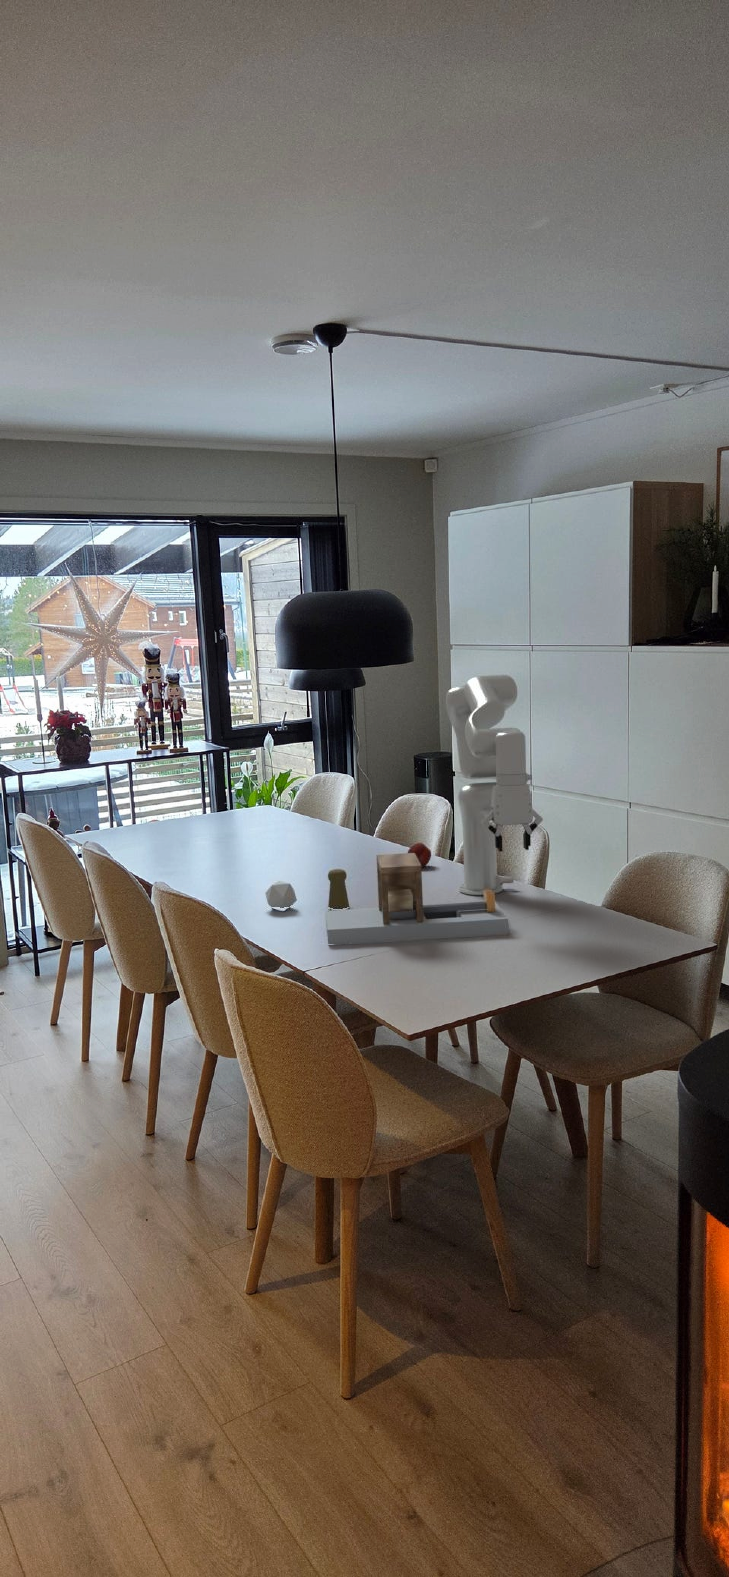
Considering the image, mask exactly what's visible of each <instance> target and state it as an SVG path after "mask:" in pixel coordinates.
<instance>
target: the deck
mask: <svg viewBox="0 0 729 1577" xmlns="http://www.w3.org/2000/svg"><path fill="white" fill-rule="evenodd" d="M469 902H470V901H465V902H463V901H462V903H469ZM478 902H484V900H483V901H478ZM453 903H454V902H450V903H449V902H448V903H447V902H446V903H445V904H453ZM436 904H437V903H435V904H434V903H431V904H429V905H436ZM325 925H326V927H327V928H326V936H327V937H328V938H327V944H345V945H356V943H361V944H372V943H373V944H375V943H391V942H393V943H394V942H407V941H421V940H423V941H425V940H439V939H456V938H471V937H487V936H488V937H490V936H501V935H504V936H505V935H509V918H508V917H507V915H506V914H505V912H503V910H502V909H501V907H500V906H499V904H497V902H496V901H495V911H491V912H487V910H486V909H482V910H465V911H449V912H433V913H423V922H420V923H417V918H412V919H396V920H389V924H387V925H383V914H382V910H381V911H379V907H369V908H368V907H366V908H349V909H347V910H325ZM350 943H351V944H350Z"/></svg>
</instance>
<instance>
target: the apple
mask: <svg viewBox="0 0 729 1577" xmlns="http://www.w3.org/2000/svg"><path fill="white" fill-rule="evenodd" d="M407 853H415V855H416V856H417V858H418V860H419V862H420V864H421V868H424V867H426V866H427V865H428V864H429V862H430V861H431V858H432V852H431V849H430V848H428V846H426V845H425V843H423V842H417V843H414V844H413V845H412V846H411V847H409V849H408V851H407Z"/></svg>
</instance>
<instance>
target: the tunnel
mask: <svg viewBox="0 0 729 1577" xmlns="http://www.w3.org/2000/svg"><path fill="white" fill-rule="evenodd" d="M376 874H377V876H376V877H377V896H378V908H379V911H381V910H382V911H383V925H387V924H389V901H388V890H404V889H410V890H411V892H412V895H413V901H416V913H417V923H420V922H423V905H424V900H423V899H424V897H423V878H422V877H423V873H422V867H421V864H420V862H419V860H418V858H417V856H416V855H415V853H408V852H406V853H391V854H390V853H388V854H376ZM381 903H382V908H381Z"/></svg>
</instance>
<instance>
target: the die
mask: <svg viewBox="0 0 729 1577" xmlns="http://www.w3.org/2000/svg"><path fill="white" fill-rule="evenodd" d="M265 897H266V898H265V899H266V901H267V904H268V905H269V907H270V906H271V907H280V908H284V907H290V906H291V905H292V906H293V905H294V904H295V903H296V901H298V900H297V896H296V892H295V889H294V888H293V886H292V885H291V883H290V882H285V881H281V880H278V881H276V882H275V883H274V884H272V885H270V886H269V888H268V889H267V890H266V891H265ZM292 906H291V907H292ZM271 907H270V908H271ZM291 907H290V908H291Z"/></svg>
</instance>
